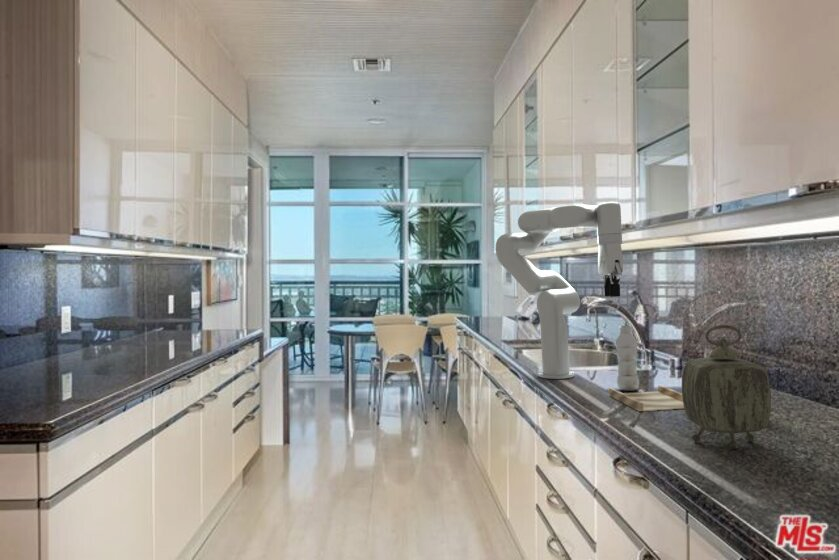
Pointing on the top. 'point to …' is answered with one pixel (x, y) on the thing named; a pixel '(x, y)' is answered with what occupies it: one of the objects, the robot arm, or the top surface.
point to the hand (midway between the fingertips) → (612, 295)
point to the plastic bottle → (626, 360)
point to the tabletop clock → (726, 392)
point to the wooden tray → (650, 399)
